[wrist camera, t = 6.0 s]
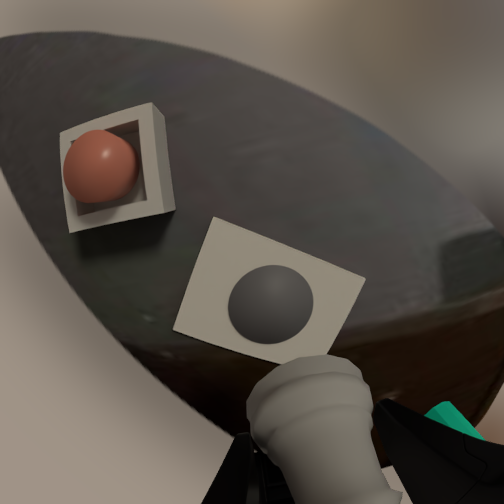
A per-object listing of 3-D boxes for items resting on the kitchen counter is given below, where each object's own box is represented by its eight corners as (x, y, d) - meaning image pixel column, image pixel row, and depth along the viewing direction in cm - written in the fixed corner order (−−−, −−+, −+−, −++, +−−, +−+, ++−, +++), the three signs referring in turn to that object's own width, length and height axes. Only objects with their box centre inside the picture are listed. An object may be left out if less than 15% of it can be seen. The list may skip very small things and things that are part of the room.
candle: (414, 441, 24) (454, 499, 12) (413, 421, 23) (461, 487, 11) (449, 416, 24) (493, 467, 12) (451, 393, 22) (505, 448, 11)
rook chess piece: (336, 430, 10) (399, 573, 2) (236, 430, 9) (250, 609, 1) (375, 348, 9) (506, 506, 1) (257, 341, 8) (316, 610, 1)
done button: (143, 194, 14) (127, 194, 11) (88, 206, 13) (67, 209, 11) (136, 131, 13) (120, 120, 11) (82, 147, 13) (61, 141, 10)
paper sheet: (363, 277, 18) (366, 279, 18) (314, 370, 19) (315, 373, 19) (213, 216, 16) (213, 217, 16) (173, 327, 18) (172, 330, 17)
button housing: (175, 209, 16) (164, 213, 13) (92, 226, 16) (69, 232, 13) (164, 117, 15) (151, 102, 12) (82, 140, 15) (59, 132, 12)
